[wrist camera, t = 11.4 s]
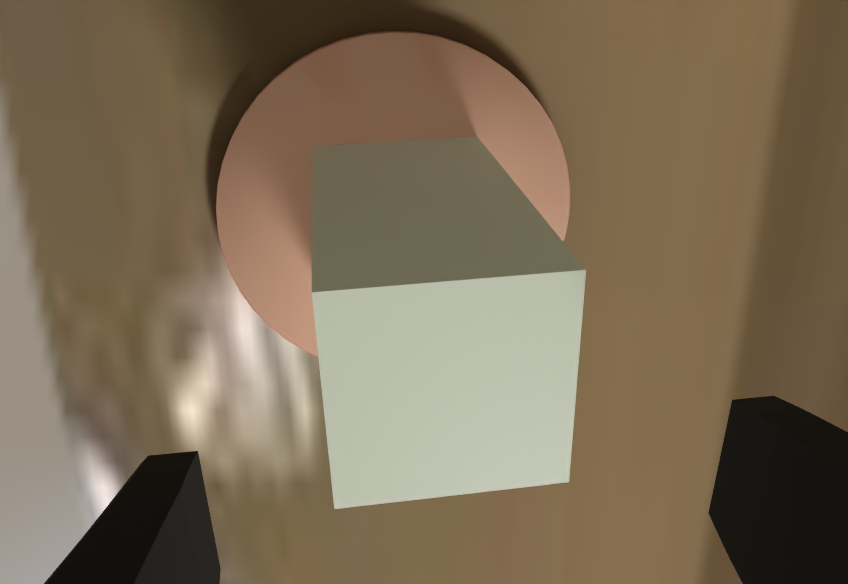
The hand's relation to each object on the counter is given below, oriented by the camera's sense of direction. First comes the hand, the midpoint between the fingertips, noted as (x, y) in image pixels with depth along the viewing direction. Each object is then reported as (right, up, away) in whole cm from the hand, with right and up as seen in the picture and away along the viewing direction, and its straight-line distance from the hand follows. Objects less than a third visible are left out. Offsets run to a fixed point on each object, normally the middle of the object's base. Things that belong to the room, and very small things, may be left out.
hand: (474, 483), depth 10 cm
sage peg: (-1, +5, +9) cm, 10 cm away
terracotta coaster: (-1, +5, +9) cm, 10 cm away
